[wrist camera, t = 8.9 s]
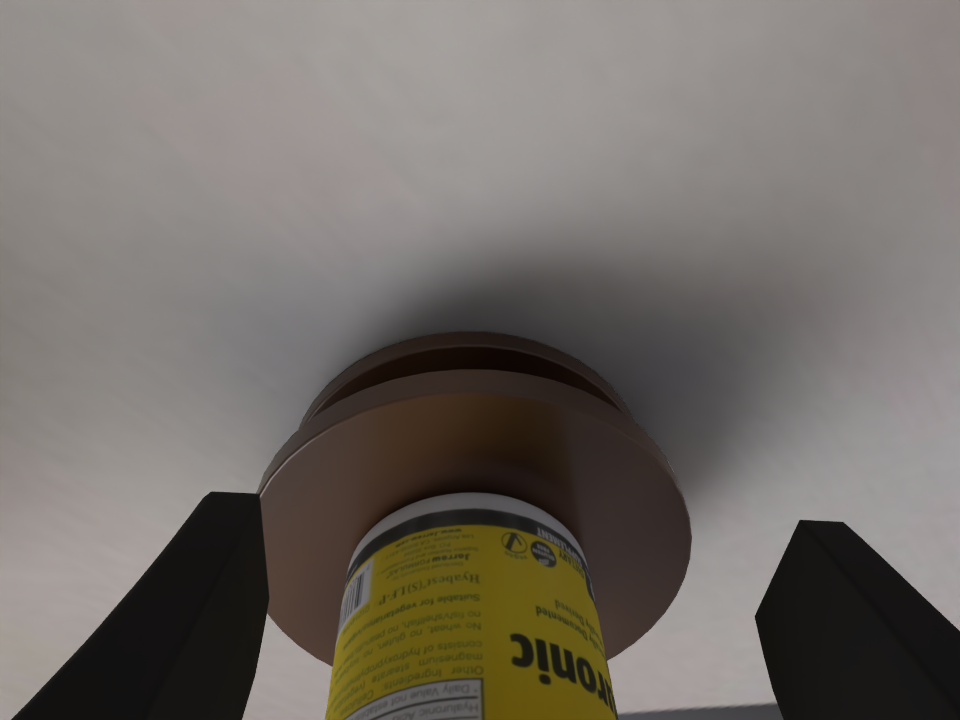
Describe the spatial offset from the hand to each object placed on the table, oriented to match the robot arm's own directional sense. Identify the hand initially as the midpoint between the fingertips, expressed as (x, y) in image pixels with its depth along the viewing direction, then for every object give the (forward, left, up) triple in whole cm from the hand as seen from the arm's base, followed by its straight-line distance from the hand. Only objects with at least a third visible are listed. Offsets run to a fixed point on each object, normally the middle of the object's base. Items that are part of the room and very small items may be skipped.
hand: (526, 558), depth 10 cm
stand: (0, +6, -8) cm, 9 cm away
